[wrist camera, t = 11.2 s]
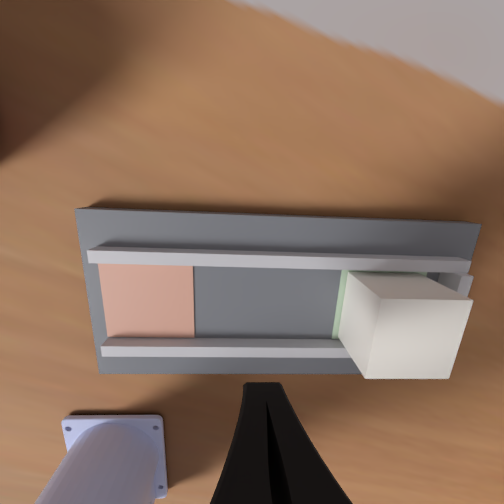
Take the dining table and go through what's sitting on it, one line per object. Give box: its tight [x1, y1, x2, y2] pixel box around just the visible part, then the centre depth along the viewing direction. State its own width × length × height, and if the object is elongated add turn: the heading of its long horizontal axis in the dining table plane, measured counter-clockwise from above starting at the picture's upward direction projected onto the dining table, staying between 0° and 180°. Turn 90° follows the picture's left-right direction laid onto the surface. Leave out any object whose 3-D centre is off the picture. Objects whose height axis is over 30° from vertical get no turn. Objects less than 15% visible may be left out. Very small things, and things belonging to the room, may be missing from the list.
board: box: [75, 207, 482, 374], centre depth 17 cm, size 12×26×3 cm, turn 88°
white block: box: [338, 272, 474, 379], centre depth 15 cm, size 5×5×4 cm
